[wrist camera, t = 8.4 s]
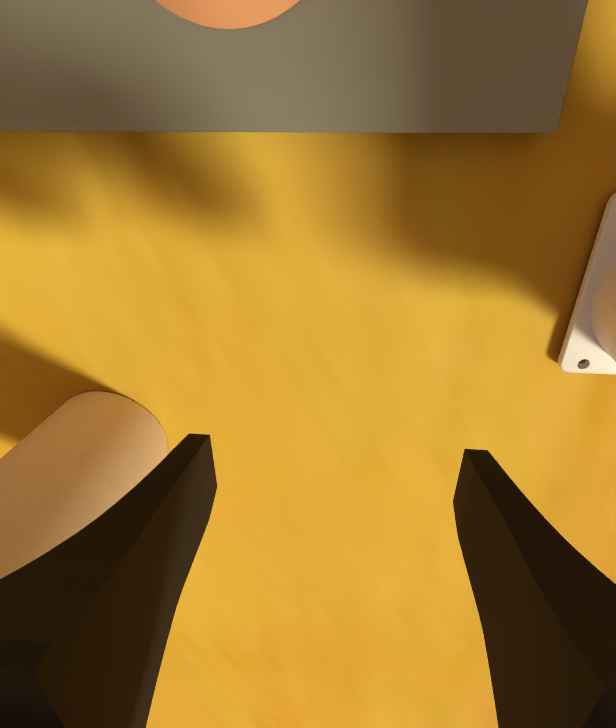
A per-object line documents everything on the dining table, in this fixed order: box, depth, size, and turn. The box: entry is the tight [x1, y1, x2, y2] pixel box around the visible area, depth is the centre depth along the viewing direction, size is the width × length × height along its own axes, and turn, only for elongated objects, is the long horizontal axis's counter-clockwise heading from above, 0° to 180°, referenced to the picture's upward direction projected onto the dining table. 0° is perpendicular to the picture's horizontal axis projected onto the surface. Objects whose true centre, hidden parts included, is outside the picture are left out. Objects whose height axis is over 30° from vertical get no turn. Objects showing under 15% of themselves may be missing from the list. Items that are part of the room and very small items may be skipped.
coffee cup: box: [0, 391, 168, 579], centre depth 20 cm, size 10×10×15 cm
